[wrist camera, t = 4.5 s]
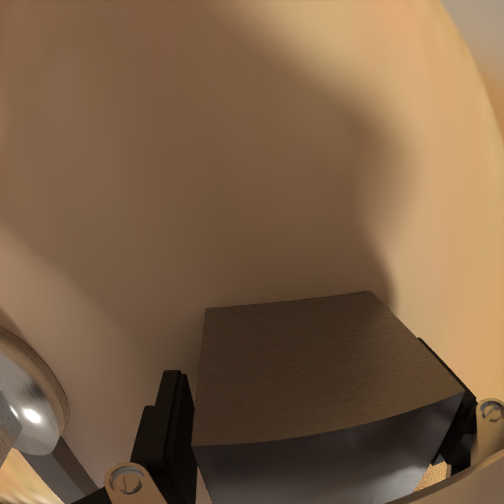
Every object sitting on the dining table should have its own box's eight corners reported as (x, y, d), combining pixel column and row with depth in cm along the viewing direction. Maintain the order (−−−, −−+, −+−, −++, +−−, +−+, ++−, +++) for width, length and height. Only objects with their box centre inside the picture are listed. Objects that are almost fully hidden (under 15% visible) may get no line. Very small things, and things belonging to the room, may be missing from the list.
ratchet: (36, 325, 10) (-28, 396, 6) (159, 534, 16) (155, 580, 12) (-49, 321, 10) (-102, 367, 5) (86, 521, 16) (76, 562, 11)
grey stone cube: (370, 291, 11) (465, 390, 5) (355, 406, 13) (402, 507, 7) (206, 308, 11) (190, 445, 5) (225, 424, 12) (229, 541, 7)
